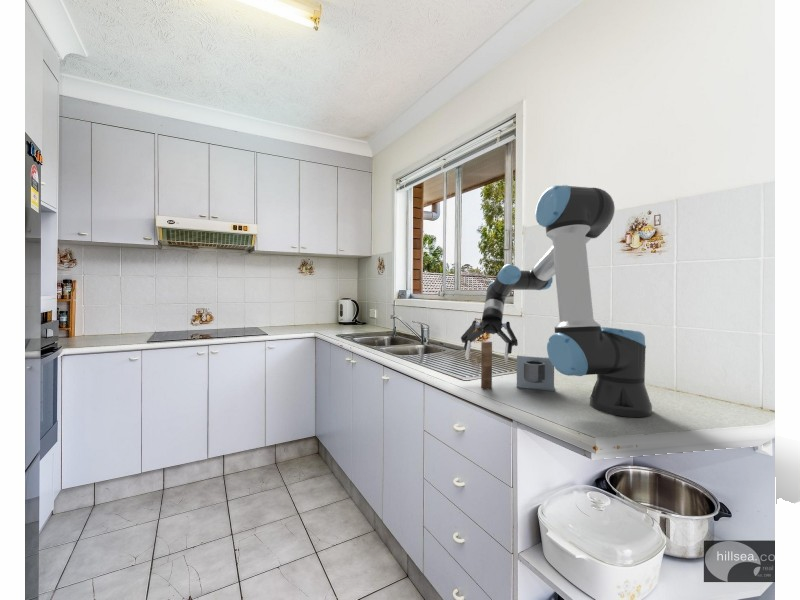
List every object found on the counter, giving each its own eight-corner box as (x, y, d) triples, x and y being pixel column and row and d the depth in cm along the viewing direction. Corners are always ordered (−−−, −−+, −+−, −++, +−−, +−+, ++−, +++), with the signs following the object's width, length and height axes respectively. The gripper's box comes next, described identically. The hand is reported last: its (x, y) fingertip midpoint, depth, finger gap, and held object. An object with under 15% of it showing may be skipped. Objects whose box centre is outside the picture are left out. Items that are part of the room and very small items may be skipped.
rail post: (493, 388, 122) (494, 342, 122) (485, 389, 121) (485, 343, 120) (487, 386, 125) (487, 341, 125) (479, 387, 124) (479, 341, 124)
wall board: (518, 383, 129) (518, 353, 128) (554, 387, 124) (554, 355, 124) (516, 387, 124) (516, 355, 124) (553, 390, 119) (554, 358, 119)
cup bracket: (525, 376, 123) (525, 359, 123) (545, 377, 120) (545, 360, 120) (523, 381, 115) (523, 363, 115) (544, 383, 113) (544, 365, 112)
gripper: (527, 320, 136) (523, 367, 122) (463, 318, 146) (453, 361, 132) (526, 307, 131) (522, 355, 117) (459, 306, 141) (449, 350, 127)
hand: (485, 358), depth 125 cm, fingers open, 13 cm apart
